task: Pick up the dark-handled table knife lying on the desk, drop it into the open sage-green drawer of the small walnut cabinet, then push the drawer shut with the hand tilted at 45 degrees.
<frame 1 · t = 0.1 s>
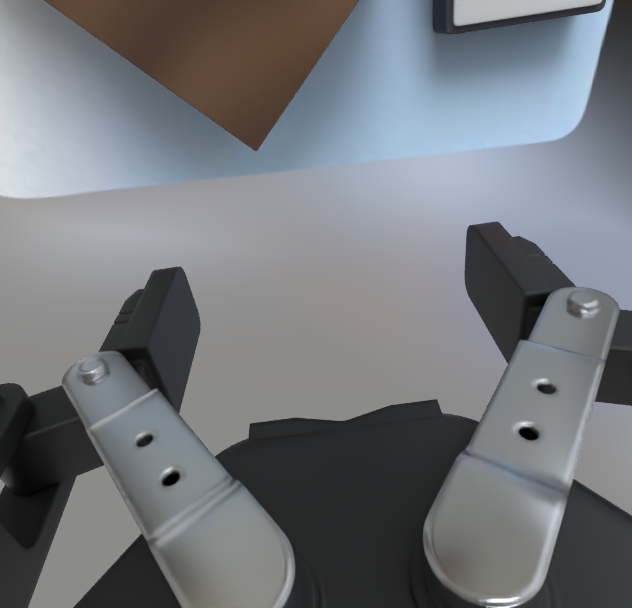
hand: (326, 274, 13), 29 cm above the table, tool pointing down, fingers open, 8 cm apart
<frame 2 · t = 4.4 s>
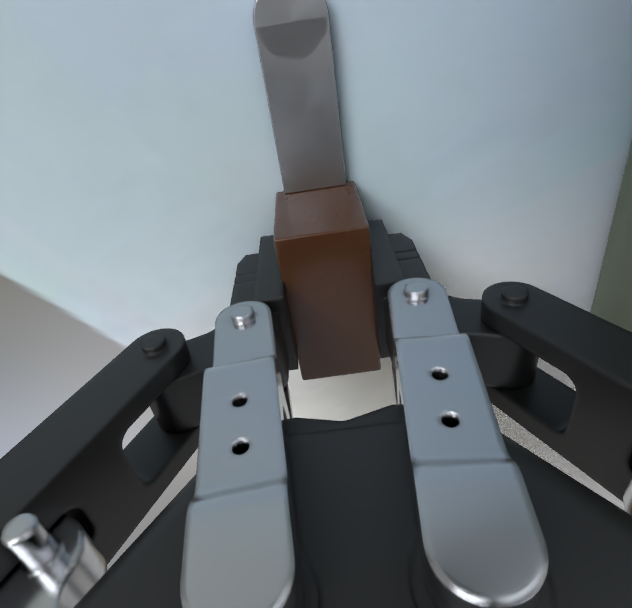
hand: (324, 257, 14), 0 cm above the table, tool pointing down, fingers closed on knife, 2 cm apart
knife: (314, 179, 13), on the table, touching gripper
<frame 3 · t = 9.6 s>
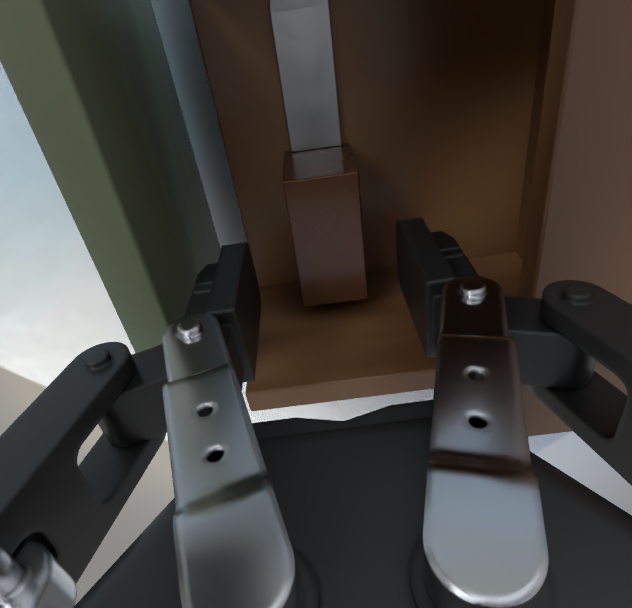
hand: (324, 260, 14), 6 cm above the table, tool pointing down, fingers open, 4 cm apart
drawer: (339, 165, 14), point 5 cm above the table, slide at 8.9 cm, touching gripper, knife
knife: (315, 140, 16), point 2 cm above the table, touching drawer
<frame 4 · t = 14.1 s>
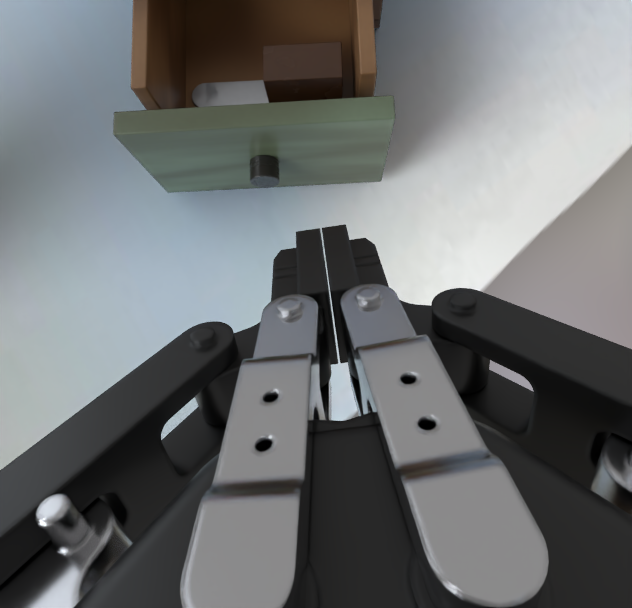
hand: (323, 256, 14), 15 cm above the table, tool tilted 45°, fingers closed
drawer: (262, 59, 27), point 5 cm above the table, slide at 10.0 cm, touching knife
knife: (267, 95, 29), point 2 cm above the table, touching drawer
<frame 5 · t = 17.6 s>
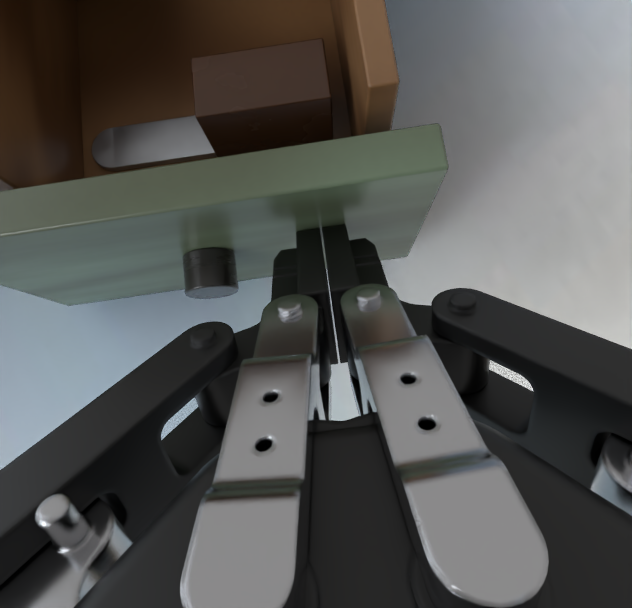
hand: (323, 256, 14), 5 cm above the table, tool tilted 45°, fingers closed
drawer: (192, 80, 16), point 5 cm above the table, slide at 9.2 cm, touching gripper, knife
knife: (212, 137, 18), point 2 cm above the table, touching drawer
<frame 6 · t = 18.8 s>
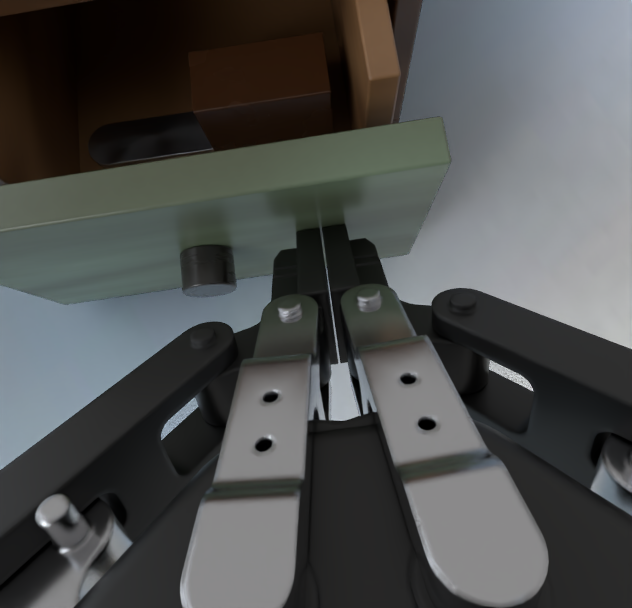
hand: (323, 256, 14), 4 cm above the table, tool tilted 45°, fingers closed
drawer: (190, 75, 15), point 5 cm above the table, slide at 4.4 cm, touching gripper, knife
knife: (210, 133, 18), point 2 cm above the table, touching drawer
cabinet: (210, 9, 21), on the table
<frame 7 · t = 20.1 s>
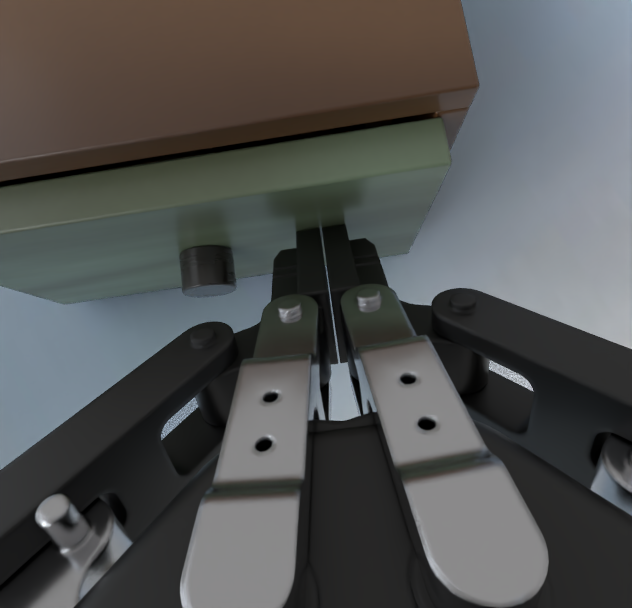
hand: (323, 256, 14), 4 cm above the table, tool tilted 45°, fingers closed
drawer: (188, 74, 15), point 5 cm above the table, slide at 0.0 cm, touching cabinet, gripper, knife
knife: (209, 132, 18), point 2 cm above the table, touching drawer
cabinet: (218, 94, 20), on the table
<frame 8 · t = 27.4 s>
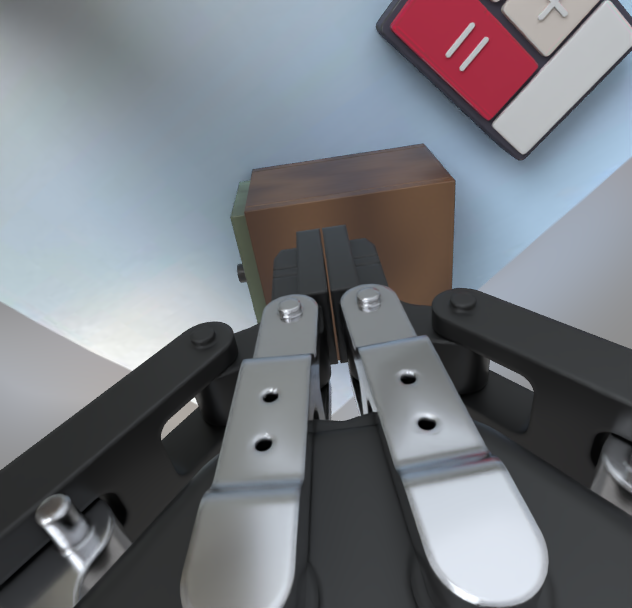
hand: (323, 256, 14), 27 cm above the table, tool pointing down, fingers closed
calculator: (495, 29, 35), on the table
drawer: (324, 261, 40), point 5 cm above the table, slide at 0.0 cm, touching knife
cabinet: (346, 234, 44), on the table
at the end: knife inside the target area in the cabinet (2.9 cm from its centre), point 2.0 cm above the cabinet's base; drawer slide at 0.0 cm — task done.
